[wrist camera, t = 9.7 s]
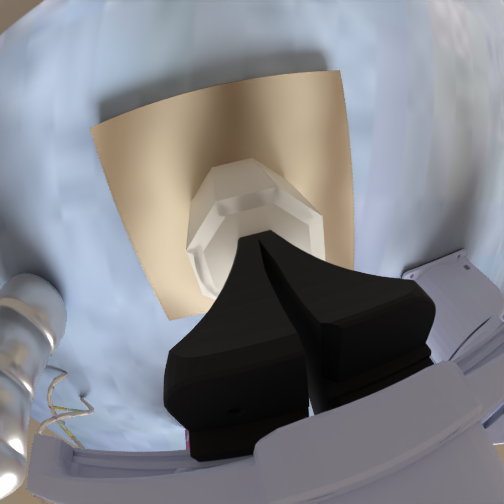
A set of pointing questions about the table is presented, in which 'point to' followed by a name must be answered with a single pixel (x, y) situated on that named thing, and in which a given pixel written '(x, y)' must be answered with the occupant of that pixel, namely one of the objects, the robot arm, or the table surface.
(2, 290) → the plastic bottle
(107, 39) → the table surface
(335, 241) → the stud base
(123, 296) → the table surface
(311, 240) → the cap
